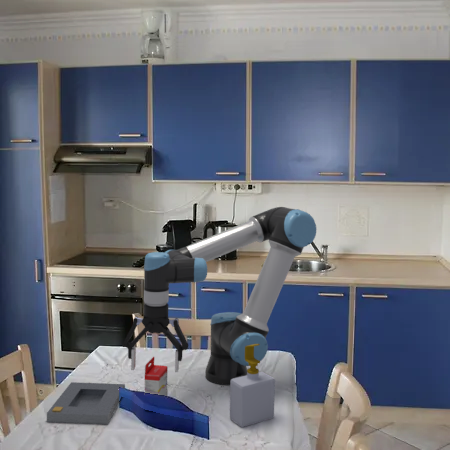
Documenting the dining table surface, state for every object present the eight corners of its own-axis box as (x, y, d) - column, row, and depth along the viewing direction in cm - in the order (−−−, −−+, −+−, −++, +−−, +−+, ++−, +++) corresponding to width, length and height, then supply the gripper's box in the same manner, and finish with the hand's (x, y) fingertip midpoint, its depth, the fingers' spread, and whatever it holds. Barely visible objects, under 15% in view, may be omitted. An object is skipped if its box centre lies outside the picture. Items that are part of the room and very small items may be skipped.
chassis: (124, 392, 181) (124, 383, 181) (107, 424, 160) (107, 414, 159) (71, 390, 182) (71, 381, 182) (46, 422, 160) (46, 412, 160)
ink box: (159, 413, 167) (159, 366, 165) (144, 411, 168) (144, 365, 166) (167, 401, 176) (168, 357, 174) (153, 399, 177) (153, 355, 175)
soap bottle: (241, 428, 159) (242, 350, 156) (228, 419, 164) (230, 343, 161) (274, 418, 165) (276, 343, 162) (261, 409, 171) (263, 337, 168)
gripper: (197, 301, 171) (196, 367, 173) (118, 298, 172) (118, 363, 174) (195, 308, 163) (193, 376, 166) (112, 304, 165) (112, 372, 167)
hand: (155, 369), depth 170 cm, fingers open, 13 cm apart
